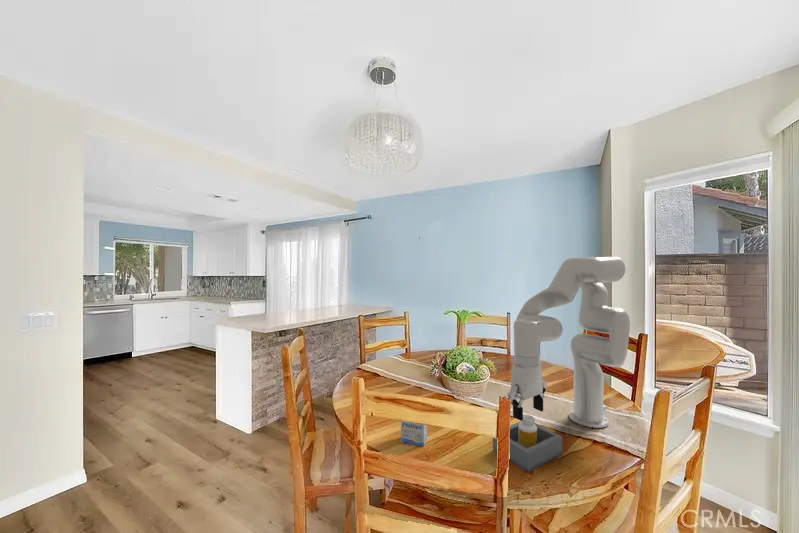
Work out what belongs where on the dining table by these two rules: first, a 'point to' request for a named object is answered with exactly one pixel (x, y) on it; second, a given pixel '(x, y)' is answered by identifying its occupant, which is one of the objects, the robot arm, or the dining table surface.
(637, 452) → the dining table surface
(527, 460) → the box
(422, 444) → the medicine box
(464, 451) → the dining table surface
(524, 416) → the supplement bottle
